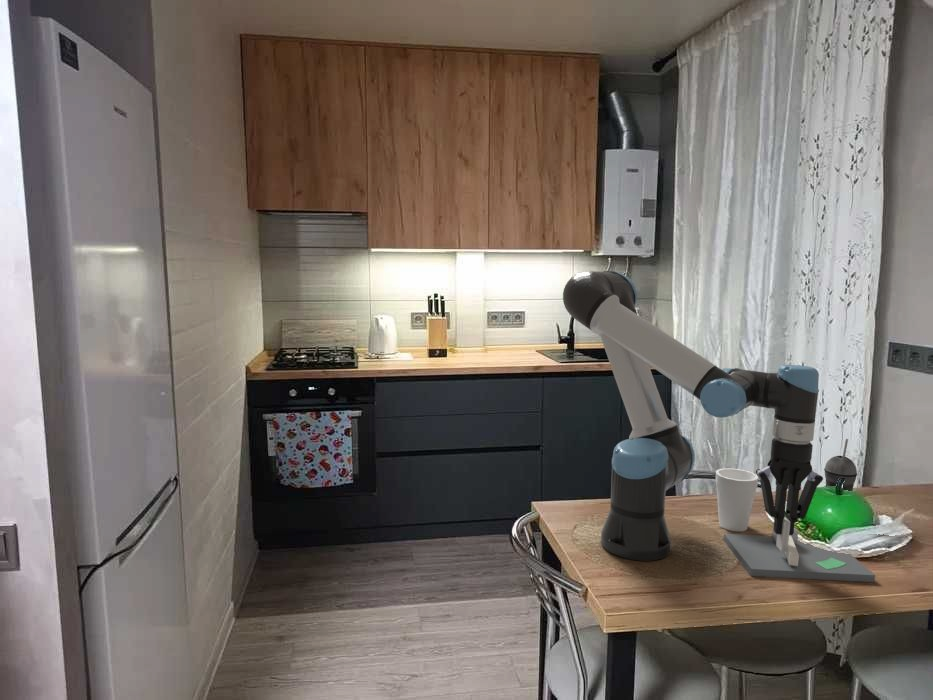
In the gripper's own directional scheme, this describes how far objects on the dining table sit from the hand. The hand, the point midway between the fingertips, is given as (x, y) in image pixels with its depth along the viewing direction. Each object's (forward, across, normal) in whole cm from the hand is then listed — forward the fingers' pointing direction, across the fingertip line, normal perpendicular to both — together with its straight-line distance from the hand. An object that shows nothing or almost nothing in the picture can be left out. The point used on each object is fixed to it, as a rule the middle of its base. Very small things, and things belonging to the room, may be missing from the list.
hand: (781, 548), depth 131 cm
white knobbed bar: (+1, +2, +3) cm, 4 cm away
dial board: (+3, +4, +2) cm, 5 cm away
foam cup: (+3, -4, +19) cm, 20 cm away
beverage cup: (+3, +25, +30) cm, 39 cm away
